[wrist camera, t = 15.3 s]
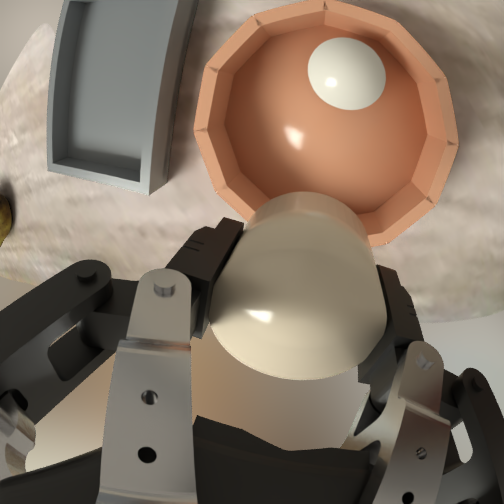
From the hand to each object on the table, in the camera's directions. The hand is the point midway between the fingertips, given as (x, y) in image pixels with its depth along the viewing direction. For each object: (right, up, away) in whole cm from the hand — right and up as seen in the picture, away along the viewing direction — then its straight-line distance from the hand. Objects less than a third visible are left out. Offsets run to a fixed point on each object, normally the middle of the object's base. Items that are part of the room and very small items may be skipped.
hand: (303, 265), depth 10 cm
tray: (-15, +17, +12) cm, 25 cm away
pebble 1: (0, 0, +1) cm, 1 cm away
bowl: (+4, +11, +11) cm, 16 cm away
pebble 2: (+5, +13, +8) cm, 16 cm away
